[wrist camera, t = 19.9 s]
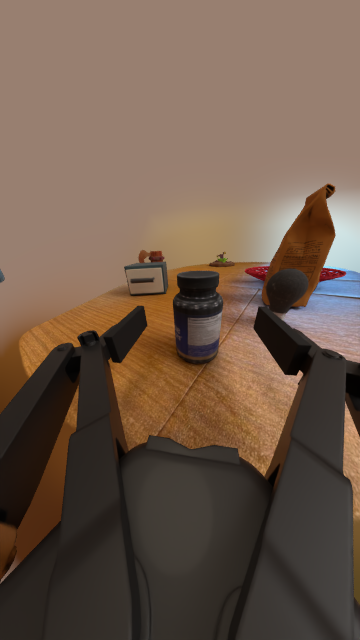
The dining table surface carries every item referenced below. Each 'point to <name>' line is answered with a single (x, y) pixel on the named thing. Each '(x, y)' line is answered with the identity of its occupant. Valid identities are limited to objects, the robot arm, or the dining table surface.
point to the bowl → (326, 276)
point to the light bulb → (285, 290)
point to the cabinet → (151, 265)
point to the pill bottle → (197, 316)
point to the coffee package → (306, 243)
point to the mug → (151, 256)
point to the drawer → (145, 280)
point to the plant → (221, 262)
